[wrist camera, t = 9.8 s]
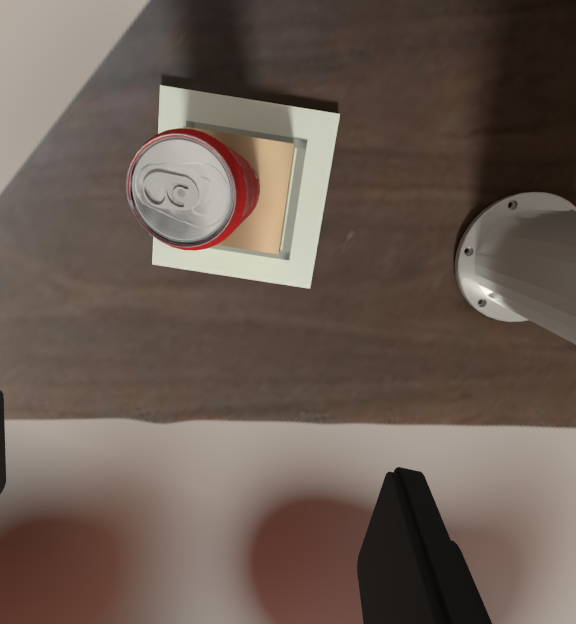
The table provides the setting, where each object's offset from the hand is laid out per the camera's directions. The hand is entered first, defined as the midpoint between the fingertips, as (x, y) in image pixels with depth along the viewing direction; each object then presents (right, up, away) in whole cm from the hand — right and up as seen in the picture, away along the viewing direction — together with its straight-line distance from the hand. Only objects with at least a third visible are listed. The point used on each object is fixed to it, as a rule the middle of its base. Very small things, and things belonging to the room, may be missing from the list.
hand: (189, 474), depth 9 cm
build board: (-2, +15, +27) cm, 31 cm away
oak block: (-2, +15, +26) cm, 30 cm away
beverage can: (-3, +14, +22) cm, 27 cm away
